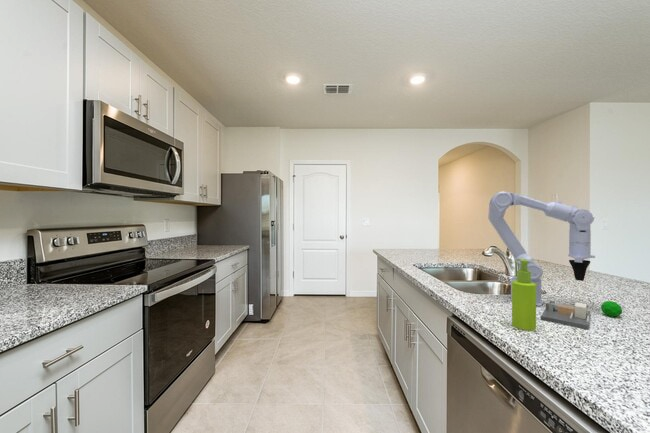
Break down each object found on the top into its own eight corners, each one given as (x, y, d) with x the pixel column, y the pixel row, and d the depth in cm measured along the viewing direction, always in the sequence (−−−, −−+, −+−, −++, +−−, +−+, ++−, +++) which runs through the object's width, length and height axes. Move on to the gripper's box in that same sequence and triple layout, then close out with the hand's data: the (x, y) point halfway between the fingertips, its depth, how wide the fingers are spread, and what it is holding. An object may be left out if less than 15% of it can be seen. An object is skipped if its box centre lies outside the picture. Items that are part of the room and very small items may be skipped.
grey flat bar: (550, 306, 94) (550, 304, 94) (551, 304, 96) (551, 302, 96) (587, 313, 88) (587, 311, 88) (587, 311, 90) (587, 308, 90)
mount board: (540, 319, 89) (540, 307, 89) (548, 306, 102) (548, 296, 102) (588, 329, 81) (588, 316, 81) (590, 314, 94) (590, 303, 94)
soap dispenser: (530, 323, 86) (530, 258, 86) (539, 331, 80) (539, 261, 80) (508, 320, 88) (508, 257, 88) (515, 329, 82) (515, 260, 82)
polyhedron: (597, 314, 94) (597, 300, 94) (605, 312, 96) (605, 298, 96) (617, 319, 89) (617, 304, 89) (625, 317, 91) (625, 303, 91)
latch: (574, 317, 88) (574, 306, 88) (575, 312, 92) (575, 302, 92) (585, 319, 86) (585, 307, 86) (586, 314, 90) (586, 304, 90)
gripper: (594, 244, 93) (594, 285, 93) (595, 242, 103) (595, 278, 103) (566, 243, 98) (566, 282, 98) (570, 240, 108) (570, 275, 108)
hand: (579, 280), depth 101 cm, fingers closed
